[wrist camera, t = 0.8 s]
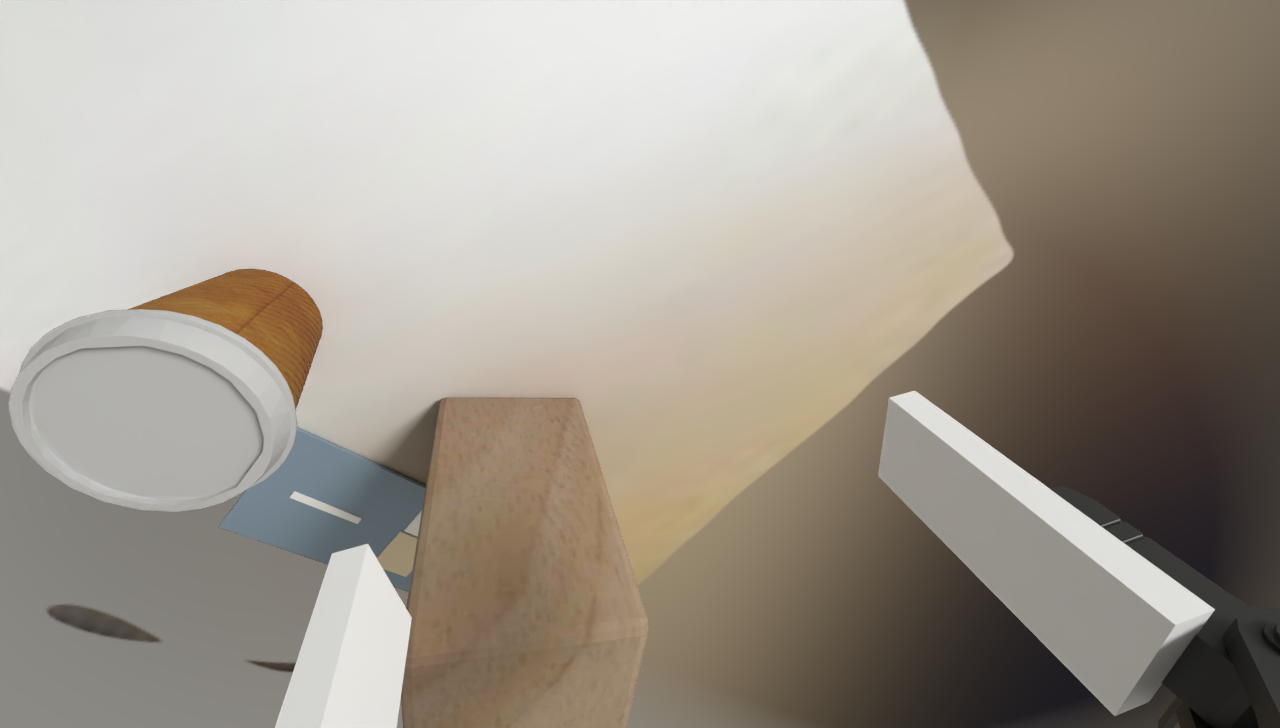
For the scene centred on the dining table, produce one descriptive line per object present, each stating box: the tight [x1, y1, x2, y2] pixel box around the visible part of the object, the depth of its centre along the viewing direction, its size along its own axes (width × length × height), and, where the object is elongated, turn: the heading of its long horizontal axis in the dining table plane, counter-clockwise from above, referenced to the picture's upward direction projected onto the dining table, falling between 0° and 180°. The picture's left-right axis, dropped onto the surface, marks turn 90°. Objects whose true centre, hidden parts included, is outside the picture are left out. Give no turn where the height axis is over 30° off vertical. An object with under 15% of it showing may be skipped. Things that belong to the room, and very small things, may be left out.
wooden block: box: [401, 398, 649, 728], centre depth 31 cm, size 10×10×20 cm
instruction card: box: [218, 427, 426, 592], centre depth 40 cm, size 18×10×1 cm, turn 46°
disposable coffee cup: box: [8, 269, 323, 512], centre depth 26 cm, size 10×10×12 cm
